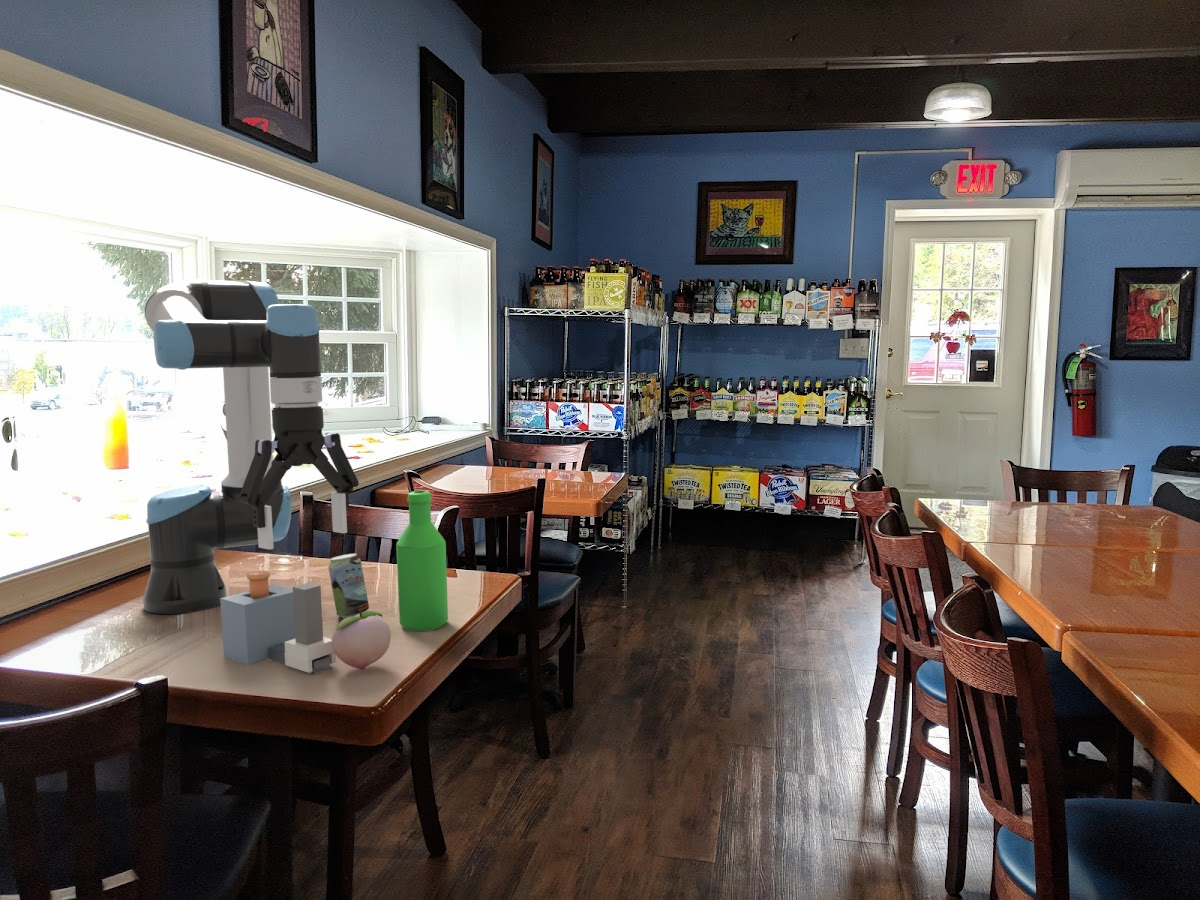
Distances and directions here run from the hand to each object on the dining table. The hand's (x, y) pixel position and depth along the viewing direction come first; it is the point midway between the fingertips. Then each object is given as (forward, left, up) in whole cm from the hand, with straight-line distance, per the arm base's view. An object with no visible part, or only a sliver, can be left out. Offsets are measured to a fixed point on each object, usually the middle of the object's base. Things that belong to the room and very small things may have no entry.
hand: (304, 540), depth 135 cm
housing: (-13, 0, -21) cm, 25 cm away
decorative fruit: (+8, +4, -21) cm, 23 cm away
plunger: (-13, 0, -12) cm, 18 cm away
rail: (-3, 0, -21) cm, 21 cm away
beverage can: (-17, +21, -21) cm, 34 cm away
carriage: (0, 0, -21) cm, 21 cm away
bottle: (-1, +25, -21) cm, 33 cm away
